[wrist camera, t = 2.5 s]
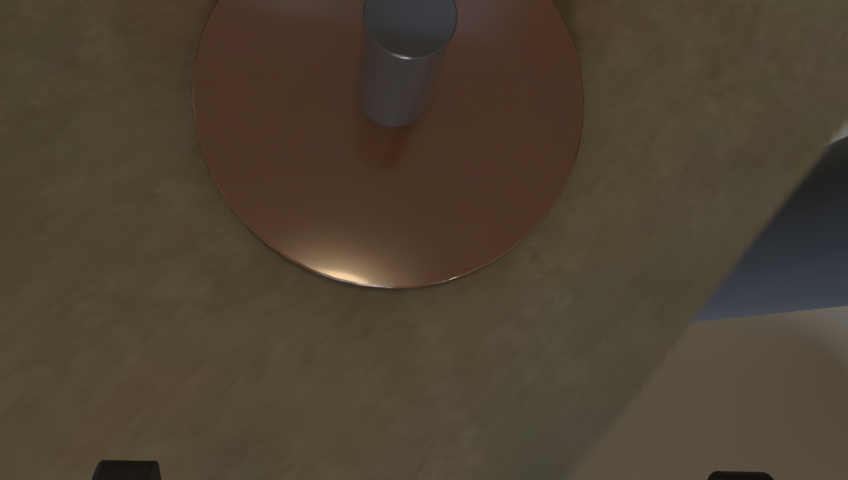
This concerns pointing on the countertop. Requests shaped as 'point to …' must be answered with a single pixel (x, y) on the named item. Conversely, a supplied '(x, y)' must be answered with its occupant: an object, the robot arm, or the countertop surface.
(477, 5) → the lid
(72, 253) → the countertop surface
